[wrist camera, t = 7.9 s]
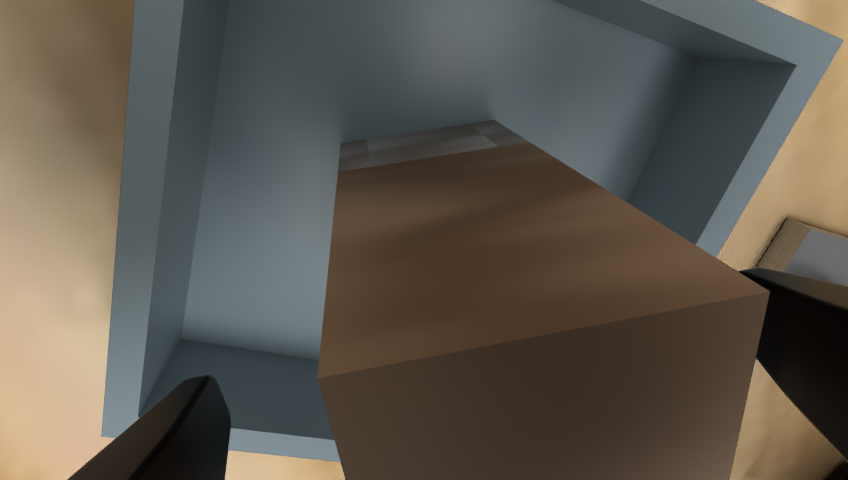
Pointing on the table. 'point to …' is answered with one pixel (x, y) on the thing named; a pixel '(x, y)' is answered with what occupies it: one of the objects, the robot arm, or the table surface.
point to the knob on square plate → (808, 253)
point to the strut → (522, 322)
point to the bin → (392, 115)
